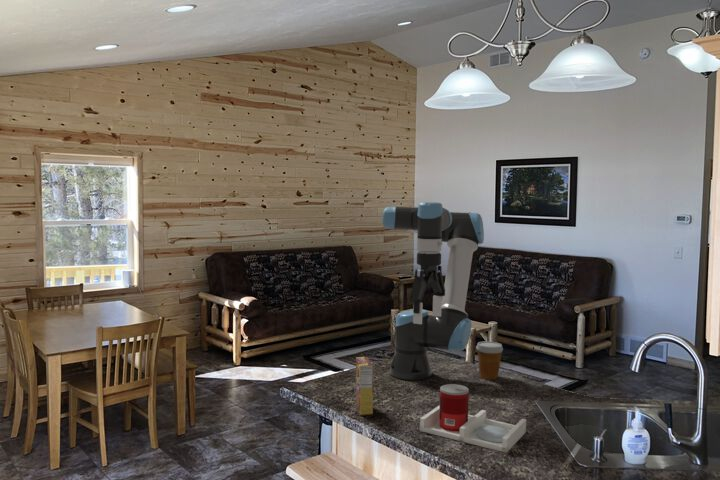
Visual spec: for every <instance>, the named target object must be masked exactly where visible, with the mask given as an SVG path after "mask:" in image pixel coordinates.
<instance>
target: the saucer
mask: <svg viewBox="0 0 720 480" xmlns="http://www.w3.org/2000/svg"><path fill="white" fill-rule="evenodd" d="M508 432H509V430H507V429H505V428H503V427H499V426H492V425H486V426H481V427H479V428H477V432H476V435H477V437H478V438H479V439H481V440H483V441H487V442H491V443H502V438H503V437H504V436H505V435H506V434H507V433H508Z"/></svg>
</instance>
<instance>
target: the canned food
mask: <svg viewBox="0 0 720 480" xmlns="http://www.w3.org/2000/svg"><path fill="white" fill-rule="evenodd" d="M469 390H470V389H469V387H467V386H465V385H462V384H455V383H453V384H452V383H451V384H450V383H449V384H443V385H441V386H440V387H439V405H440V412H439V424H440V426H441V428H443V429H445V430H448V431H460V427H461V426H463V425H464V424H465V423H466V422H468V414H469V405H470V404H469V401H470V399H469V398H470V391H469Z"/></svg>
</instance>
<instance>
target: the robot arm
mask: <svg viewBox="0 0 720 480" xmlns="http://www.w3.org/2000/svg"><path fill="white" fill-rule="evenodd" d="M382 225H383V227H384V228H385V229H386V230H387V229H388V230H392V231H393V230H400V231H406V232H411V233H415V234H416V235H417V238H416V239H417V241H416V251H417V253H416V264H417V265H419V266H420V269H415V270H414V271H415V273H414V279H413V282H412V287H411V292H410V296H409V301H410V303H413V304H412V305H413V309H409V310H405V311H401V312H399V313H398V314H396V317H395V324H394V327H395V333H394V337H395V340H394V343H395V344H394V347H395V348H394V354H393V358H392V359H391V363H390V366H389V374H390V375H391V376H392V377H395V378H398V379H402V380H409V381H417V380H425V379H428V378H430V377H431V376H432V366H431V363H430V358H429V356H428V349H435V350H436V349H437V350H444V351H449V352H461V351H464V350H465V349H466V348H467V346H468V344H469V341H470V337H471V333H472V321H471V319H470V318H469V314H468V313H467V312H466V311H465V308H466V301H467V294H468V289H469V281H470V275H471V274H470V273H471V267H472V260H473V255H474V252H476V251H477V250H478V248H479V245H481V244H483V243H484V239H485V233H484V232H485V231H484V222H483V217H482V215H481V214H479V212H478V213H477V212H458V211H457V212H453V211H449V210H448V209H447V208H444V207H443V204H442V203H441V202H432V201H431V202H430V201H427V202H426V201H424V202H423V201H421V202H420V203H418V207H415V206H413V207H411V206H409V207H408V206H395V205H394V206H387V207H385V208H384V209H383V213H382ZM443 243H446V246H447V247H448V248H449V255H448V259H447V266H446V272H445V277H443V273H442V272H443V271H442V268H443V267H442V265H441V264H442V254H441V251H442V246H443ZM444 278H445V279H444ZM444 280H445V281H444ZM428 285H430V286H431V289H432V291H433V293H434V295H433V296H432V315H430V314H429V311H428V310H426V309H423V307H424V306H423V302H422V300H423V298H424V295H425V293H426V290H427V287H428Z"/></svg>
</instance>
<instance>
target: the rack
mask: <svg viewBox="0 0 720 480" xmlns="http://www.w3.org/2000/svg"><path fill="white" fill-rule="evenodd" d="M439 412H440V404H439V405H437V406H436V407H434V408H433V409H432V410H430V411H429V412H427V413H426V414H424V415H422V417H420V418H419V431H420V432H422V433H425V434H431V435H435V436H439V437H443V438H447V439H451V440H455V441H458V442H461V443H465V444H466V443H467V444H471V445H475V446H478V447H482V448H486V449H490V450H495V451H498V452H501V453H508V452H509V451H510V450H511V449H512V448H513V447H514V446H515V444H516V443H517V442H518V441H519V440H520V439H521V438H522V437H523V436H524V435H525V433H527V419H526V418H521V419H520V420H519V421H518V422H517V423H516V424H513V423H507V422H504V421H499V420H495V419H490V418H486V417H487V410H484V409H481V410H480V411H478V412H477V413H476V414H475V415H471V414H469V413H468V422H466V423H465V424H464V425H463V426H461V427H460V431H448V430H445V429H443V428H441V426H440V424H439ZM486 425H492V426H499V427H503V428H505V429H507V430H509V432H508V433H507V434H506V435H505V436H504V437H503V438H502V443H491V442H487V441H483V440H481V439H479V438H478V437H477V435H476V432H477V428H479V427H481V426H486Z"/></svg>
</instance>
